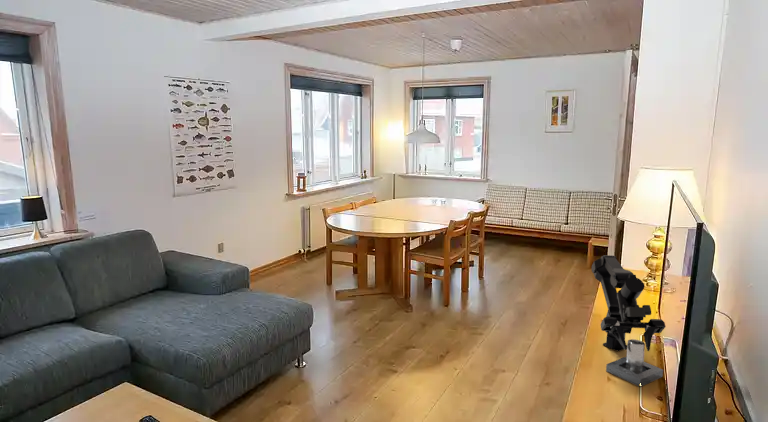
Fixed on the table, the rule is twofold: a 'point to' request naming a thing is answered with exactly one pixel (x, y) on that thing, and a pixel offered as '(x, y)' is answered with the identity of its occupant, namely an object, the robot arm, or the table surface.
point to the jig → (644, 378)
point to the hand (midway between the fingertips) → (637, 350)
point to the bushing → (635, 356)
